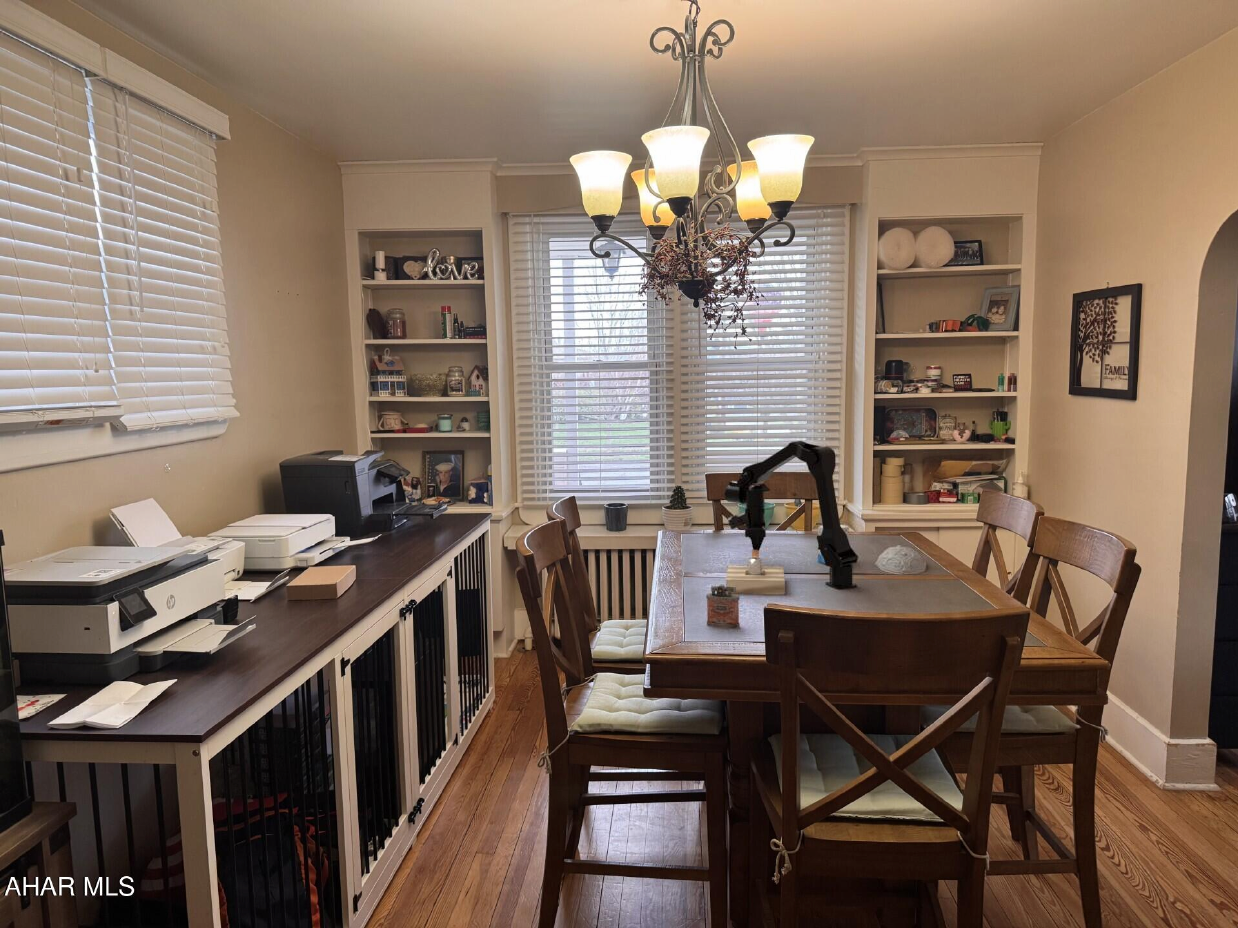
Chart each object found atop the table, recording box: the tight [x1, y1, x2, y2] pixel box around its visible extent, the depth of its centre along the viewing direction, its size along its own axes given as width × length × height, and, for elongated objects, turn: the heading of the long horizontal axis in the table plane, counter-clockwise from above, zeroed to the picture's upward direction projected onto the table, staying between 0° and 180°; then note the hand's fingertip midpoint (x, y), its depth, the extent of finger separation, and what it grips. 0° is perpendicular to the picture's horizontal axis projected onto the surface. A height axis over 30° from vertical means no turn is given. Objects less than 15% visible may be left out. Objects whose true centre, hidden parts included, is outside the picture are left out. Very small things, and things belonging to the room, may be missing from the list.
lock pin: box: [751, 549, 760, 558], centre depth 240 cm, size 12×2×2 cm, turn 170°
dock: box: [725, 565, 786, 595], centre depth 226 cm, size 16×16×4 cm
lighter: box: [705, 584, 741, 629], centre depth 191 cm, size 8×3×10 cm, turn 69°
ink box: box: [817, 523, 850, 565], centre depth 252 cm, size 9×5×12 cm, turn 113°
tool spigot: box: [747, 557, 764, 575], centre depth 226 cm, size 4×4×8 cm
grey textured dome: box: [874, 544, 927, 575], centre depth 247 cm, size 16×25×7 cm, turn 165°
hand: (755, 554), depth 248 cm, fingers closed
